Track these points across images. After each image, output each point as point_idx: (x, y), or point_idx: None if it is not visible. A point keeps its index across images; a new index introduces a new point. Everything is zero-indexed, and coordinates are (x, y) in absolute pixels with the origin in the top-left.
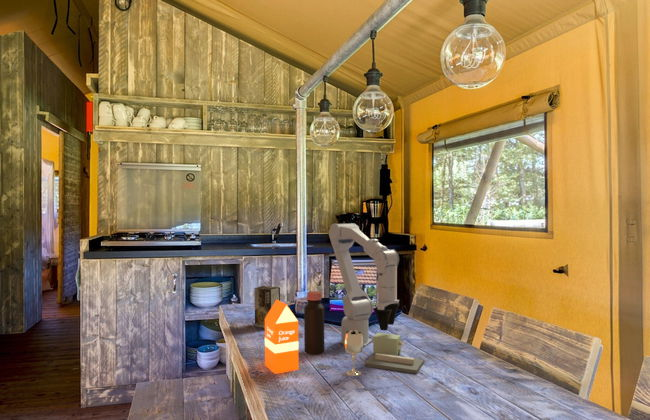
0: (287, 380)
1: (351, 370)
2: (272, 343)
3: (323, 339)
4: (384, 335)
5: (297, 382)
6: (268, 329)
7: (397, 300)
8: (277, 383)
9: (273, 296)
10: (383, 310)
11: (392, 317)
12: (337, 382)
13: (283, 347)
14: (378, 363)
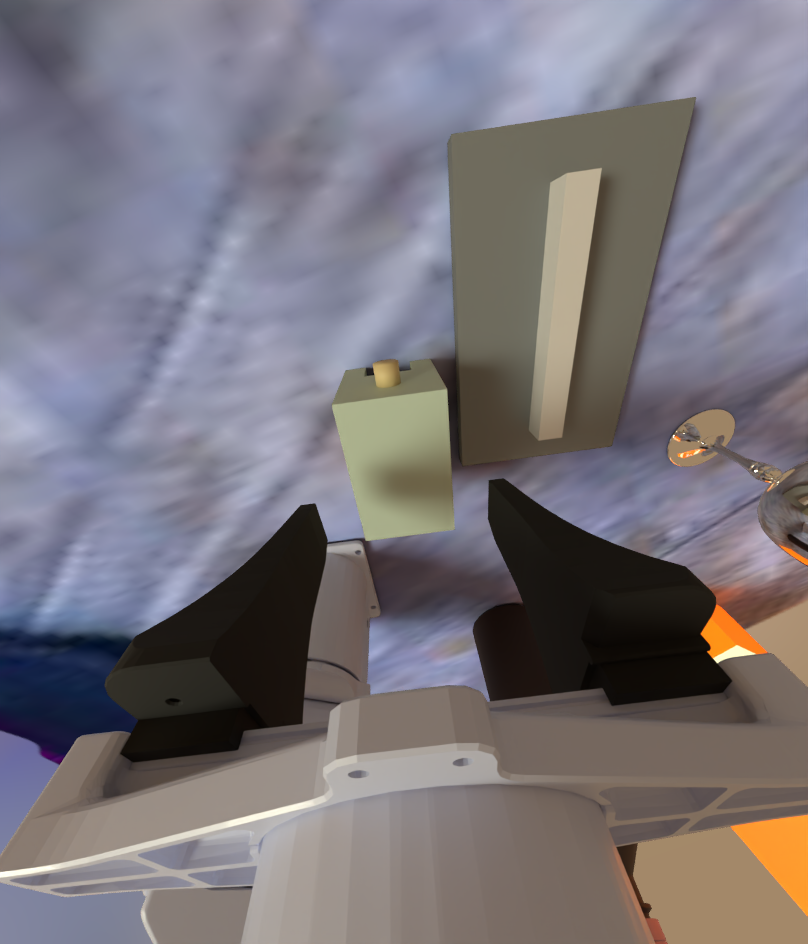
0: (775, 565)
1: (705, 452)
2: None
3: (524, 649)
4: (400, 490)
5: None
6: None
7: (419, 767)
8: (799, 571)
9: None
10: (696, 648)
11: (299, 551)
12: (804, 444)
13: None
14: (609, 388)
